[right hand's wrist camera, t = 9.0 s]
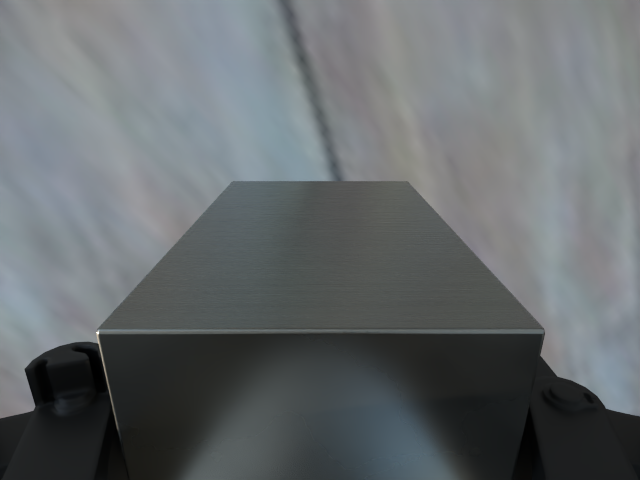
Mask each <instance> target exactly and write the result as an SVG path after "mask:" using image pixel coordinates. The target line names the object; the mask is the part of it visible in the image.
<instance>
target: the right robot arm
mask: <svg viewBox="0 0 640 480" xmlns="http://www.w3.org/2000/svg"><path fill="white" fill-rule="evenodd" d="M25 372H26V376H27V379H28V382H29V386H30V389H31V392H32V396H33V399H34V403H35V406H36V407H35V409H34V411H31V412H28V413H24V414H19V415H14V416H10V417H5V418H1V419H0V480H128V476H127V471H126V466H125V462H124V457H123V453H122V448H121V444H120V439H119V434H118V430H117V425H116V421H115V416H114V411H113V407H112V402H111V398H110V393H109V389H108V384H107V379H106V375H105V370H104V366H103V361H102V356H101V352H100V347H99V344H97V343H92V342H75V343H71V344H67V345H63V346H59V347H57V348H54V349H52V350H49V351H47V352H45V353H43V354H42V355H40V356H39V357H37V358H36V359H34V360H32V362H31V363H30V364H29V365H28V366H27V367H26V368H25ZM513 480H640V417H639V416H634V415H630V414H625V413H620V412H616V411H612V410H608V409H606V408H605V406H604V405H603V403H602V402H601V401H600V399H599V398H598V397H597V396H596V395H595V394H594V393H592V392H591V391H590V390H588V389H587V388H586V387H584V386H582V385H579V384H577V383H575V382H573V381H571V380H567V379H564V378H560V377H557V376H556V374H555V373H554V372H553V371H552V370H551V368H550V367H549V366H548V365H547V363H546V362H545V361H544V360H543V358H542V357H541V356H540V358H539V363H538V367H537V372H536V377H535V381H534V386H533V390H532V395H531V399H530V404H529V409H528V413H527V418H526V422H525V427H524V431H523V436H522V441H521V445H520V450H519V454H518V459H517V463H516V468H515V473H514V477H513Z"/></svg>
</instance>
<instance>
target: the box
mask: <svg viewBox="0 0 640 480" xmlns="http://www.w3.org/2000/svg"><path fill="white" fill-rule="evenodd" d="M544 335H545V331H544V328H543V327H542V326H541V325H540V324H539V323H538V322H537V321H536V319H535V318H534V317H533V316H532V315H531V314H530V313H529V312H528V311H527V310H526V309H525V308H524V307H523V305H522V304H521V303H520V302H519V301H518V300H517V299H516V298H515V297H514V296H513V295H512V294H511V292H510V291H509V290H508V289H507V288H506V287H505V286H504V285H503V284H502V283H501V282H500V281H499V280H498V278H497V277H496V276H495V275H494V274H493V273H492V272H491V271H490V270H489V269H488V268H487V267H486V265H485V264H484V263H483V262H482V261H481V260H480V259H479V258H478V257H477V256H476V255H475V254H474V253H473V251H472V250H471V249H470V248H469V247H468V246H467V245H466V244H465V243H464V242H463V241H462V240H461V238H460V237H459V236H458V235H457V234H456V233H455V232H454V231H453V230H452V229H451V228H450V227H449V226H448V224H447V223H446V222H445V221H444V220H443V219H442V218H441V217H440V216H439V215H438V214H437V213H436V211H435V210H434V209H433V208H432V207H431V206H430V205H429V204H428V203H427V202H426V201H425V200H424V199H423V197H422V196H421V195H420V194H419V193H418V192H417V191H416V190H415V189H414V188H413V187H412V186H411V184H410V183H409V182H407V181H233V182H231V184H230V185H229V186H228V187H227V188H226V189H225V190H224V191H223V192H222V193H221V195H220V196H219V197H218V198H217V199H216V200H215V201H214V202H213V203H212V204H211V205H210V207H209V208H208V209H207V210H206V211H205V212H204V213H203V214H202V215H201V216H200V217H199V219H198V220H197V221H196V222H195V223H194V224H193V225H192V226H191V227H190V228H189V230H188V231H187V232H186V233H185V234H184V235H183V236H182V237H181V238H180V239H179V240H178V242H177V243H176V244H175V245H174V246H173V247H172V248H171V249H170V250H169V251H168V252H167V254H166V255H165V256H164V257H163V258H162V259H161V260H160V261H159V262H158V263H157V265H156V266H155V267H154V268H153V269H152V270H151V271H150V272H149V273H148V274H147V275H146V277H145V278H144V279H143V280H142V281H141V282H140V283H139V284H138V285H137V286H136V287H135V289H134V290H133V291H132V292H131V293H130V294H129V295H128V296H127V297H126V298H125V300H124V301H123V302H122V303H121V304H120V305H119V306H118V307H117V308H116V309H115V310H114V312H113V313H112V314H111V315H110V316H109V317H108V318H107V319H106V320H105V321H104V322H103V324H102V325H101V326H100V327H99V328H98V329H97V338H98V343H99V347H100V352H101V356H102V361H103V366H104V370H105V375H106V379H107V384H108V389H109V393H110V398H111V402H112V407H113V411H114V416H115V421H116V425H117V430H118V434H119V439H120V444H121V448H122V453H123V457H124V462H125V466H126V471H127V476H128V480H513V477H514V473H515V468H516V463H517V459H518V454H519V450H520V445H521V441H522V436H523V431H524V427H525V422H526V418H527V413H528V409H529V404H530V399H531V395H532V390H533V386H534V381H535V377H536V372H537V367H538V363H539V358H540V354H541V349H542V345H543V340H544Z"/></svg>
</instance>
